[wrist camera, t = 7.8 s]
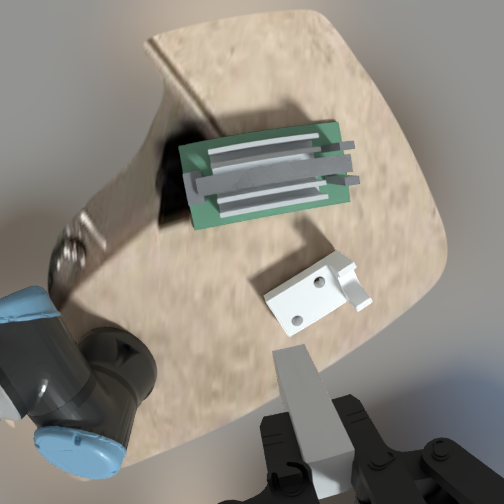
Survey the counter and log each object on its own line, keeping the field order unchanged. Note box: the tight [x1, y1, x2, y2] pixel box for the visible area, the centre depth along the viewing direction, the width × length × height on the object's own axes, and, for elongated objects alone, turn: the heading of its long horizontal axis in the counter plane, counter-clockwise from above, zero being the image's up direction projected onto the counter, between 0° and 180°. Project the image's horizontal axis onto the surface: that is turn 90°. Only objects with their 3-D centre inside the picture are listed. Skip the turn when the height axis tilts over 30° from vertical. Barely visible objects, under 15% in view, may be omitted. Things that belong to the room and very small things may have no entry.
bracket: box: [263, 250, 372, 337], centre depth 45 cm, size 13×7×8 cm, turn 121°
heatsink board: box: [178, 122, 360, 230], centre depth 39 cm, size 23×12×8 cm, turn 100°
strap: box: [195, 154, 353, 197], centre depth 37 cm, size 19×2×1 cm, turn 100°
